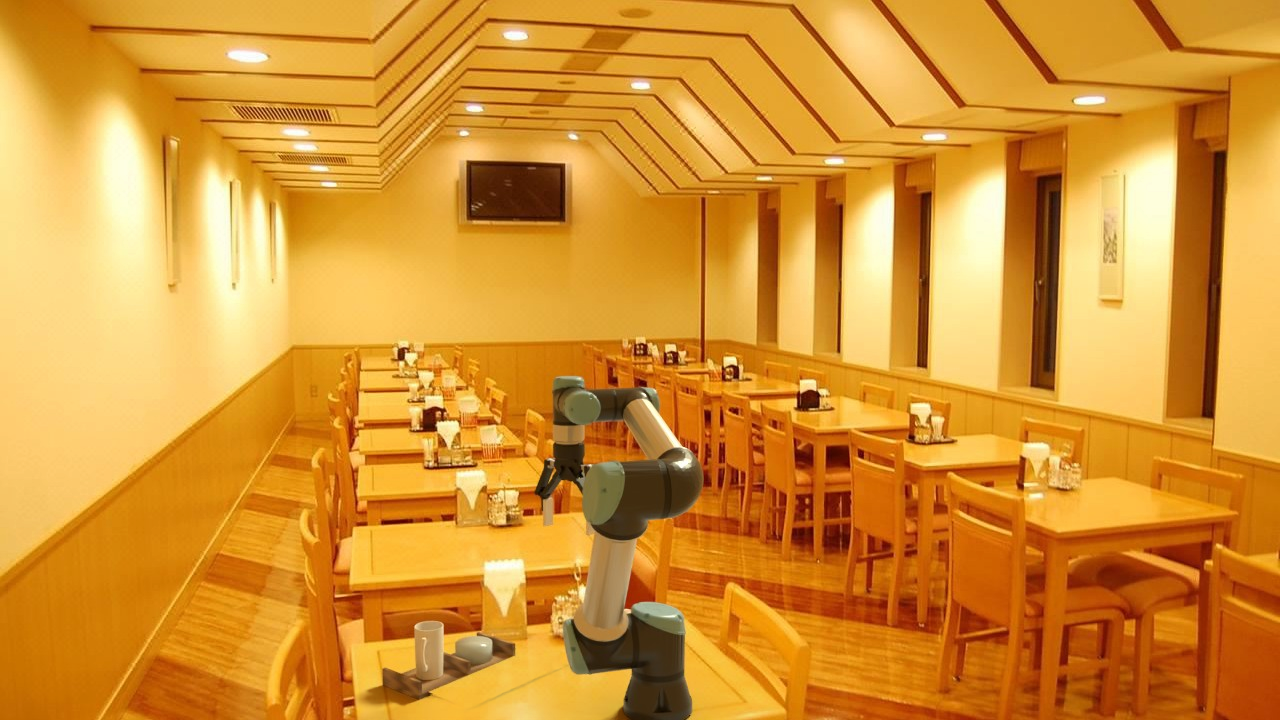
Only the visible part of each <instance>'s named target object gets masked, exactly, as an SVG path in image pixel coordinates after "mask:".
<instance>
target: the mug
mask: <svg viewBox="0 0 1280 720" xmlns="http://www.w3.org/2000/svg"><path fill="white" fill-rule="evenodd" d="M413 628H414V630H413V631H414V632H413V633H414V654H415V655H414V656H415V657H414V658H415V659H414V660H415V668H416V677H417V678H418V679H421V680H434V679H438V678H440V677H441V676H442V675H443V652H444V636H445V635H444V634H445V633H444V623H443V622H441V621H436V620H425V621H421V622H417V623H416V624H415V625H414V627H413Z"/></svg>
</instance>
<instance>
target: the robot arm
mask: <svg viewBox="0 0 1280 720" xmlns="http://www.w3.org/2000/svg"><path fill="white" fill-rule="evenodd" d="M551 393H552V441H554V442H553V443H552V456H553V457H549V458H546V459H544V462H543V468H542V472H541V475H540V476H539V479H538V481H537V484H536V487H535V489H534V495H535V496H539V498H540V500H541V501H540V502H541V503H540V506H541V507H540V509H541V512H542V522H543V523H542V527H545V528H546V527H549V526H552V525H554V499H553V497H552V494H553V493H554V491H555V490H556V488H557V487H558V486H559V484H560V483H561V482H562V481H567V482H572V483H573V484H574V485H575V486H576V487H577V488H578V490H579V492H580V494H581V495H582V498H581V507H582V508H581V509H582V513H583V517H584V520H585V531H586V532H585V535H586V536H592V535H593V541H592V546H591V553H590V559H589V564H588V571H587V579H586V585H585V589H584V597H583V602H582V603H580V604H579V606H578V607H577V608H576V609H575V612H574V614H573V618H572V617H571V618H568V619H565V620H564V621H563V624H562V634H563V635H562V636H563V642H564V649H565V653H566V658H567V663H568V666H569V669H570V670H571V672H572V673H573V674H575V675H581V676H582V675H594V674H602V673H610V672H617V671H624V670H625V671H626V670H631V676H630V679H629V681H628V684H627V685H628V686H627V688H626V691H625V693H624V694H625V695H624V697H623V713H624V714H625V716H626V717H628V719H631V720H683V719H685V720H686V719H688V718H689V717H690V716H691V715H692V713H693V699H692V697H691V694H690V691H689V688H688V687H689V686H688V683H687V680H686V677H685V676H686V675H685V665H686V662H685V658H686V657H685V656H686V652H685V651H686V650H685V647H686V645H685V643H686V632H687V631H686V625H685V617H684V616H685V615H684V614H683V613H682V612H681V610H679V609H678V608H676V607H674V606H672V605H669V604H665V603H661V602H656V601H641V602H637V603H634V604H632V606H631V608H630V610H631V613H627V614H626V612H625V611H624V609H625V606H626V600H627V594H628V590H629V585H630V578H631V574H632V570H633V569H632V567H633V564H634V557H635V553H636V547H637V540H638V539H639V538H641V537H642V536H643V535H644V534H646V532H647V529H648V525H649V521H656V520H664V519H666V520H667V519H668V520H669V519H673V518H676V517H679V516H681V515H683V514H685V513H686V512H687V511H689V510H690V509H691V508H692V507H693V506H694V505H695V504H696V502H697V501H698V500H699V498H700V495H701V494H702V491H703V486H704V482H705V481H704V471H703V468H702V467H703V466H702V465H701V462H700V460H699V458H697V457H696V455H695V453H693V451H692V450H690V449H689V448H686V447H683V446H682V444H681V443H680V441H679V440H678V439H677V437H676V435H675V434H674V433H673V432H672V429H670V427H669V426H668V425H667V423H666V422H665V420H664V419H663V418H662V416H661V415H660V409H661V408H660V406H661V404H660V397H659V394H658V392H657V390H656V389H655V388H653V387H642V386H637V387H622V388H621V387H619V388H618V387H617V388H616V387H615V388H588V389H586V386H585V379H584V378H583V376H578V375H562V376H556V377H555V378H553V381H552V390H551ZM605 422H606V423H607V422H609V423H610V422H624V424H625V425H626V427H627V428H628V431H630V433H631V435H632V436H633V438H634V439H635V442H636V443H637V445H638V446H639V448H640V449H641V451H642V452H643V454H644V455H645V457H646V458H647V459H641V460H640V459H639V460H627V461H618V460H609V461H606V462H598V463H596V464H594V463H589V464H584V458H585V454H586V453H585V452H586V448H585V447H586V444H585V442H584V440H585V429H586V428H585V426H588V425H591V424H592V423H605ZM554 469H555V471H554ZM690 714H691V715H690ZM689 715H690V716H689ZM688 716H689V717H688ZM687 717H688V718H687Z"/></svg>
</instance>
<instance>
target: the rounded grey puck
mask: <svg viewBox="0 0 1280 720" xmlns="http://www.w3.org/2000/svg"><path fill="white" fill-rule="evenodd" d="M454 644H455V645H454V646H455V647H454V648H455V649H454V650H455V651H454V653H455V656H456V657H459V658H462V659H465V660H468V661H471V666H472V665H481V664H485V663H487V662H489V661H491V660H492V640H491V639H490V638H487V637H482V636H477V635H472V636H470V635H469V636H465V637H462V638H460V639H458V640H456V642H455V643H454Z"/></svg>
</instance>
